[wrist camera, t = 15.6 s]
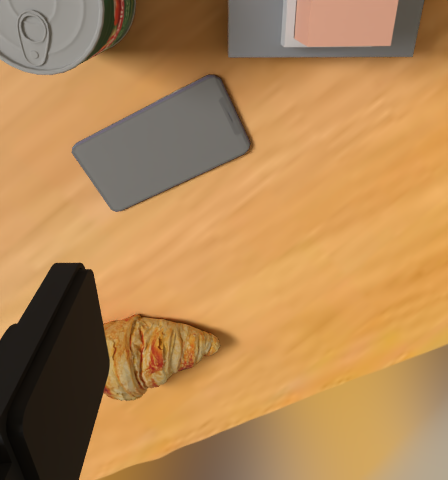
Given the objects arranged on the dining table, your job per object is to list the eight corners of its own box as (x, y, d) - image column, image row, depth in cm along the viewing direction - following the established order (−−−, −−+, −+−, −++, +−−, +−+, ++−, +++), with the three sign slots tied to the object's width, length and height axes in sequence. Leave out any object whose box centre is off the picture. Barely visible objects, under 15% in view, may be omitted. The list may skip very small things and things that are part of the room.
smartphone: (66, 148, 38) (216, 70, 35) (70, 144, 39) (216, 68, 36) (113, 215, 42) (253, 151, 38) (115, 211, 43) (253, 147, 39)
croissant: (214, 295, 52) (208, 308, 44) (228, 375, 52) (225, 403, 44) (47, 323, 53) (12, 341, 45) (62, 401, 53) (30, 433, 45)
